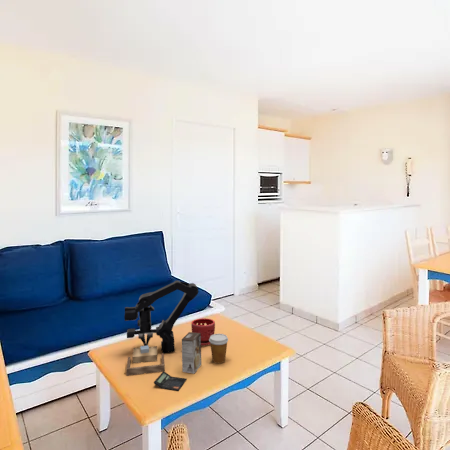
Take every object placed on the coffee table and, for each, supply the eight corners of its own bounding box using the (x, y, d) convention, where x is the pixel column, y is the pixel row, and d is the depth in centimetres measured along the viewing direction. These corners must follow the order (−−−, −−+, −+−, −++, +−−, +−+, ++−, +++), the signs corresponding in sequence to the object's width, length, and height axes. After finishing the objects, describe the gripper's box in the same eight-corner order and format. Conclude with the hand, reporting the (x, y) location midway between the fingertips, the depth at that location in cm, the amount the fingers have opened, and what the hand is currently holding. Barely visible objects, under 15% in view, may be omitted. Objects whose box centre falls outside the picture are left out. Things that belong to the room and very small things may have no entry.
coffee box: (189, 363, 174) (188, 331, 172) (201, 364, 172) (201, 332, 170) (181, 372, 165) (181, 339, 163) (194, 374, 163) (194, 340, 162)
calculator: (178, 391, 149) (178, 385, 149) (153, 388, 152) (153, 381, 152) (186, 380, 158) (186, 374, 158) (163, 377, 161) (162, 370, 161)
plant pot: (219, 343, 196) (219, 322, 194) (199, 349, 188) (198, 327, 187) (207, 335, 206) (207, 315, 205) (187, 341, 199) (187, 320, 198)
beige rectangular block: (157, 353, 186) (157, 346, 185) (157, 362, 176) (157, 354, 176) (133, 355, 184) (133, 348, 183) (132, 364, 174) (132, 357, 173)
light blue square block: (148, 348, 182) (148, 345, 182) (149, 352, 178) (148, 348, 178) (140, 349, 181) (140, 346, 181) (140, 353, 177) (140, 349, 177)
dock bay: (163, 358, 178) (163, 353, 178) (164, 371, 166) (164, 365, 165) (128, 362, 175) (127, 356, 174) (126, 375, 162) (126, 369, 162)
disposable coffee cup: (230, 357, 179) (230, 334, 178) (224, 366, 170) (224, 342, 169) (213, 354, 182) (213, 332, 181) (206, 363, 173) (206, 339, 172)
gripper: (163, 312, 193) (163, 339, 195) (127, 314, 190) (128, 342, 191) (163, 319, 182) (164, 348, 184) (126, 322, 179) (127, 352, 180)
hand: (146, 347), depth 185 cm, fingers closed
